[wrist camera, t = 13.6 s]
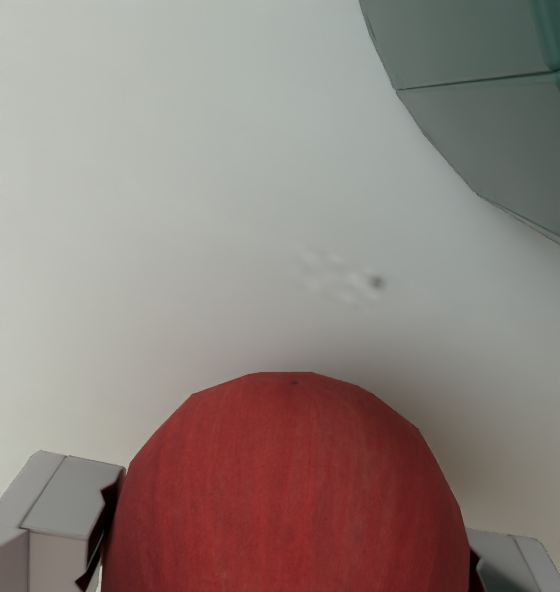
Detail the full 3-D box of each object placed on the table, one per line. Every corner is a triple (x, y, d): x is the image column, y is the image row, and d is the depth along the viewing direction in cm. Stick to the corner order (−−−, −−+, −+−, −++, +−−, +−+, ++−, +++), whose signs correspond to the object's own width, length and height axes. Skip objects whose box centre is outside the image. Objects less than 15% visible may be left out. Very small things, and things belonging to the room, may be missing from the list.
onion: (356, 536, 13) (431, 1091, 6) (143, 476, 13) (-72, 1000, 5) (451, 349, 11) (756, 839, 4) (203, 269, 11) (-11, 653, 3)
